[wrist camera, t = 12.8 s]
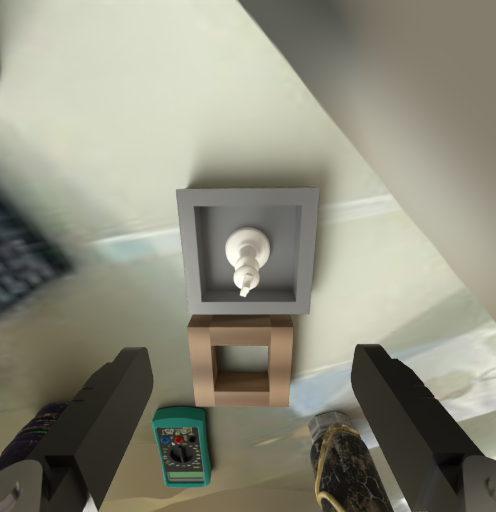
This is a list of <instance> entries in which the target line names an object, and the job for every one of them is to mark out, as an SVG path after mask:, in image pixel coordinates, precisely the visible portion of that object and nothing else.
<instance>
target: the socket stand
mask: <svg viewBox="0 0 496 512" xmlns="http://www.w3.org/2000/svg"><path fill="white" fill-rule="evenodd" d="M293 328H294V327H293V324H292V320H291V317H290V314H193V315H192V318H191V320H190V322H189V324H188V327H187V330H188V339H189V348H190V358H191V367H192V376H193V385H194V394H195V403H196V406H225V407H289V394H290V377H291V361H292V344H293ZM216 346H269V347H268V373H217V360H216Z"/></svg>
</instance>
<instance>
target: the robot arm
mask: <svg viewBox="0 0 496 512" xmlns="http://www.w3.org/2000/svg"><path fill="white" fill-rule="evenodd" d="M351 383H352V388H353V391H354V394H355V396H356V398H357V400H358V402H359V404H360V406H361V408H362V410H363V412H364V415H365V417H366V419H367V421H368V423H369V425H370V427H371V429H372V431H373V433H374V435H375V437H376V439H377V441H378V443H379V445H380V448H381V450H382V452H383V454H384V456H385V458H386V460H387V462H388V464H389V466H390V468H391V470H392V472H393V474H394V476H395V479H396V481H397V483H398V485H399V487H400V489H401V491H402V493H403V495H404V497H405V499H406V501H407V503H408V505H409V507H410V510H411V512H496V460H494V459H491V458H488V457H486V456H485V455H484V454H483V453H482V452H481V451H480V450H479V448H478V447H477V446H476V445H475V444H474V443H473V441H472V440H471V439H470V438H469V437H468V435H467V434H466V433H465V432H464V431H463V429H462V428H461V427H460V426H459V425H458V424H457V422H456V421H455V420H454V419H453V418H452V416H451V415H450V414H449V413H448V412H447V411H446V409H445V408H444V407H443V406H442V405H441V403H440V402H439V401H438V400H437V399H435V398H434V395H433V394H432V393H431V392H430V390H429V389H428V388H427V387H425V386H424V383H423V382H422V381H421V380H420V378H419V377H418V376H417V375H416V374H415V373H414V371H413V370H412V369H410V368H409V367H408V366H406V365H405V364H403V363H402V362H401V361H399V360H398V359H391V357H390V356H389V355H388V354H387V352H386V351H385V350H384V348H383V347H382V346H381V345H379V344H358V345H356V347H355V353H354V359H353V365H352V372H351ZM152 389H153V374H152V369H151V364H150V360H149V355H148V351H147V349H146V348H145V347H127V348H123V349H122V350H121V351H120V353H119V354H118V355H117V357H116V358H115V359H114V361H113V362H112V363H106V364H105V365H104V366H102V367H101V368H100V369H99V370H97V371H96V372H95V373H94V374H93V375H92V376H91V377H90V378H89V380H88V381H87V382H86V383H85V385H84V386H83V387H82V390H81V391H79V392H78V393H77V395H76V396H75V397H74V399H73V400H72V403H70V404H69V405H68V406H67V407H66V409H65V410H64V411H63V412H62V414H61V415H60V416H59V417H58V419H57V420H56V421H55V422H54V424H53V425H52V426H51V428H50V429H49V430H48V431H47V433H46V434H45V435H44V436H43V438H42V439H41V440H40V441H39V443H38V444H37V445H36V446H35V448H34V449H33V450H32V452H31V453H30V454H29V455H28V456H27V457H26V459H25V460H24V461H20V462H17V463H15V464H12V465H10V466H8V467H6V468H5V469H3V470H1V471H0V512H98V511H99V509H100V507H101V504H102V502H103V500H104V498H105V495H106V493H107V491H108V489H109V487H110V484H111V482H112V480H113V478H114V476H115V473H116V471H117V469H118V467H119V464H120V462H121V460H122V458H123V456H124V453H125V451H126V449H127V447H128V445H129V442H130V440H131V438H132V436H133V433H134V431H135V429H136V427H137V425H138V422H139V420H140V418H141V416H142V413H143V411H144V409H145V407H146V405H147V402H148V400H149V398H150V396H151V393H152Z"/></svg>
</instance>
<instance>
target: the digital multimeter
mask: <svg viewBox="0 0 496 512" xmlns="http://www.w3.org/2000/svg"><path fill="white" fill-rule="evenodd" d="M152 427H153V430H154V433H155V437H156V441H157V444H158V448H159V452H160V458H161V463H162V469H163V477H164V483H165V485H166V486H167V487H179V488H184V487H185V488H191V487H205V486H207V485H208V484H210V478H211V464H210V459H209V454H208V446H207V438H206V424H205V411H204V410H203V409H199V408H192V407H170V408H164V409H159V410H157V411H156V413H155V415H154V418H153V420H152ZM198 433H199V434H198ZM199 441H200V442H199ZM200 448H201V449H200ZM201 456H202V457H201ZM202 464H203V465H202Z"/></svg>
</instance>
